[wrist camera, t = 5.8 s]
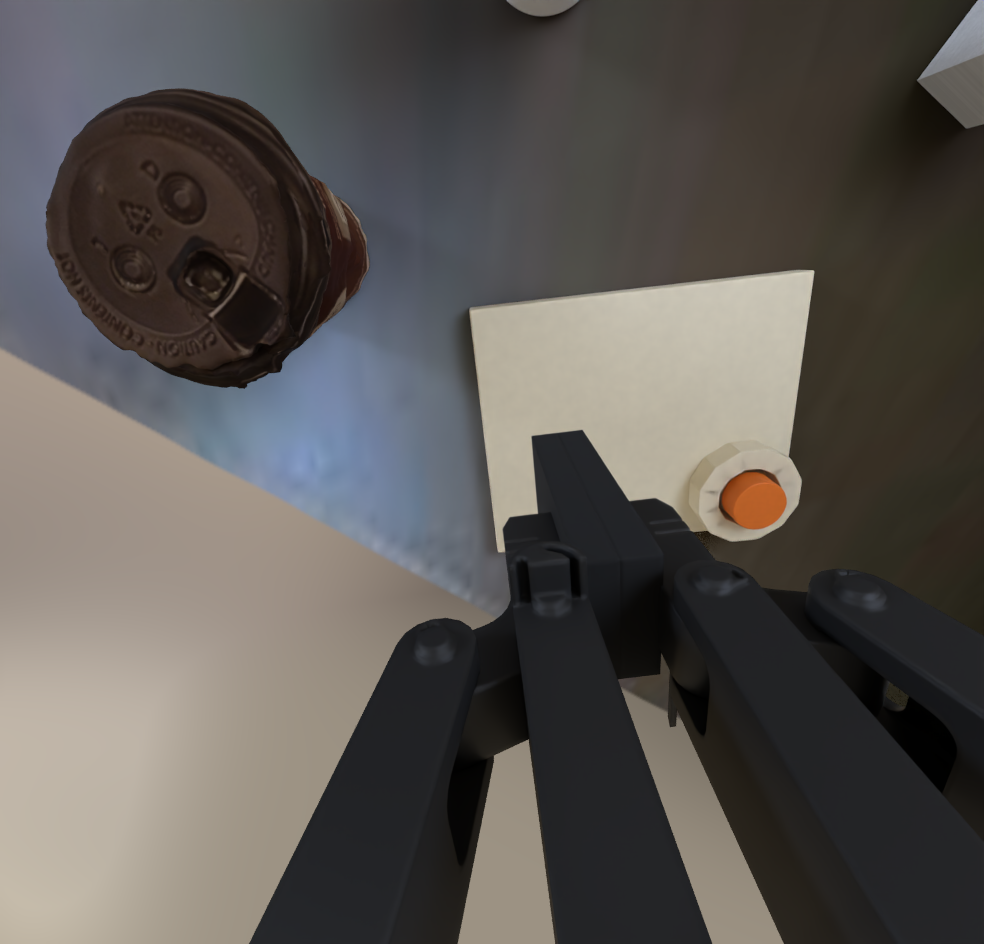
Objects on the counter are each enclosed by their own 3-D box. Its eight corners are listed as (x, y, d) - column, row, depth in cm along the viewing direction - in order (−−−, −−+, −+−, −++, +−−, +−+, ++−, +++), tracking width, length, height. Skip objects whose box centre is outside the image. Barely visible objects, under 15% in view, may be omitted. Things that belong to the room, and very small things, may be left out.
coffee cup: (402, 331, 28) (346, 388, 16) (254, 347, 28) (88, 415, 16) (371, 148, 24) (270, 45, 12) (203, 167, 25) (-57, 83, 13)
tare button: (775, 468, 29) (790, 479, 27) (769, 514, 30) (783, 527, 29) (723, 474, 29) (735, 485, 28) (719, 519, 30) (731, 532, 29)
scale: (799, 269, 27) (835, 271, 24) (768, 513, 33) (794, 536, 30) (469, 307, 27) (468, 312, 25) (497, 541, 33) (498, 567, 31)
